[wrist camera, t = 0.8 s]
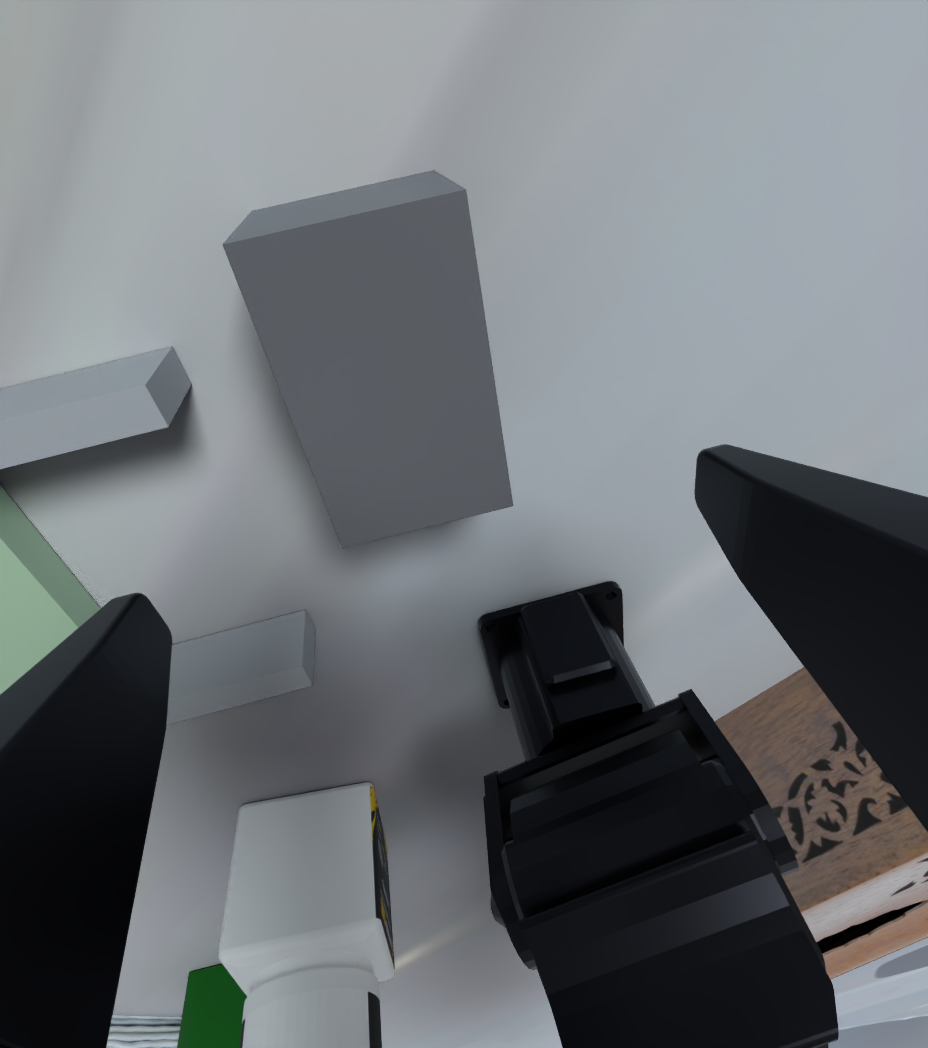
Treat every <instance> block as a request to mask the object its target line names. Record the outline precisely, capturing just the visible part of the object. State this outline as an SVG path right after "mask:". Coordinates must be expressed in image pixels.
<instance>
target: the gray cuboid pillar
mask: <svg viewBox="0 0 928 1048" xmlns="http://www.w3.org/2000/svg"><path fill="white" fill-rule="evenodd" d="M223 247H224V250H225V252H226V255H227V257H228V260H229V262H230V265H231V267H232V270H233V272H234V275H235V277H236V280H237V283H238V285H239V288H240V290H241V293H242V295H243V298H244V300H245V303H246V305H247V308H248V311H249V313H250V316H251V318H252V321H253V323H254V326H255V328H256V331H257V333H258V336H259V338H260V341H261V344H262V346H263V349H264V351H265V354H266V356H267V359H268V361H269V364H270V366H271V369H272V371H273V374H274V377H275V379H276V382H277V384H278V387H279V389H280V392H281V394H282V397H283V399H284V402H285V404H286V407H287V410H288V412H289V415H290V417H291V420H292V422H293V425H294V427H295V430H296V432H297V435H298V437H299V440H300V443H301V445H302V448H303V450H304V453H305V455H306V458H307V460H308V463H309V465H310V468H311V471H312V473H313V476H314V478H315V481H316V483H317V486H318V488H319V491H320V493H321V496H322V498H323V501H324V504H325V506H326V509H327V511H328V514H329V516H330V519H331V521H332V524H333V526H334V529H335V531H336V534H337V537H338V539H339V542H340V544H341V547H342V549H343V548H347V547H351V546H355V545H359V544H363V543H367V542H371V541H375V540H379V539H383V538H387V537H391V536H395V535H399V534H403V533H407V532H411V531H415V530H419V529H423V528H427V527H431V526H435V525H439V524H443V523H447V522H451V521H455V520H459V519H463V518H467V517H471V516H475V515H479V514H483V513H487V512H491V511H495V510H499V509H503V508H507V507H511V506H513V501H512V494H511V488H510V481H509V474H508V468H507V461H506V454H505V448H504V441H503V434H502V427H501V421H500V414H499V407H498V401H497V394H496V387H495V381H494V374H493V367H492V361H491V354H490V347H489V341H488V334H487V327H486V321H485V314H484V307H483V300H482V294H481V287H480V280H479V274H478V267H477V260H476V254H475V247H474V240H473V234H472V227H471V220H470V214H469V207H468V200H467V194H466V189H464V188H463V187H461V186H459V185H458V184H456V183H454V182H453V181H451V180H449V179H448V178H446V177H444V176H443V175H441V174H439V173H438V172H436V171H434V170H433V171H428V172H424V173H419V174H415V175H410V176H406V177H402V178H397V179H393V180H388V181H384V182H379V183H375V184H370V185H366V186H361V187H357V188H352V189H348V190H344V191H339V192H335V193H330V194H326V195H321V196H317V197H312V198H308V199H303V200H299V201H295V202H290V203H286V204H281V205H277V206H272V207H268V208H263V209H259V210H254V211H252V212H251V213H250V214H249V215H248V216H247V217H246V218H245V219H244V221H243V222H242V223H241V224H240V225H239V226H238V227H237V229H236V230H235V231H234V232H233V233H232V234H231V235H230V236H229V238H228V239H227V240H226V241H225V242H224V243H223Z"/></svg>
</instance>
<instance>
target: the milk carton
mask: <svg viewBox="0 0 928 1048" xmlns="http://www.w3.org/2000/svg"><path fill="white" fill-rule="evenodd" d="M246 998H247V996H246V994H245V993H244V992H243V990H242V989H241V988H240V987H239V985H238V984H237V983H236V981H235V980H234V979H233V977H232V976H231V975H230V973H229V972H228V971H227V969H226V968H225V967H224V965H223V964H220V965H216V966H212V967H208V968H204V969H200V970H196V971H192V972H189V977H188V983H187V989H186V995H185V1001H184V1008H183V1014H182V1020H181V1026H180V1032H179V1038H178V1045H177V1048H239V1047H240V1037H241V1028H242V1018H243V1009H244V1002H245V1000H246Z"/></svg>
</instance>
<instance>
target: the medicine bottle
mask: <svg viewBox="0 0 928 1048" xmlns="http://www.w3.org/2000/svg"><path fill="white" fill-rule="evenodd" d="M218 956H219V960H220V962H221V963H222V964H223V965H224V967H225V968H226V969H227V971H228V972H229V973H230V975H231V976H232V977H233V979H234V980H235V981H236V983H237V984H238V985H239V987H240V988H241V989H242V990H243V992H244V993H245V994H246V996H247V998H246V1000H245V1002H244V1009H243V1018H242V1028H241V1037H240V1047H239V1048H382V1041H381V1019H380V998H379V983H380V982H384V981H388V980H391V979H392V977H393V976H394V972H395V966H394V951H393V936H392V921H391V906H390V891H389V875H388V860H387V845H386V840H385V836H384V831H383V827H382V823H381V818H380V814H379V809H378V805H377V800H376V796H375V791H374V787H373V785H372V784H371V783H369V782H364V783H359V784H353V785H348V786H342V787H337V788H331V789H326V790H320V791H315V792H309V793H304V794H298V795H293V796H287V797H282V798H276V799H270V800H265V801H259V802H254V803H248V804H244V805H243V806H241V807H240V809H239V812H238V819H237V826H236V833H235V840H234V847H233V854H232V861H231V868H230V875H229V882H228V889H227V896H226V903H225V910H224V917H223V924H222V931H221V938H220V945H219V952H218Z"/></svg>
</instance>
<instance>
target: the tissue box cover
mask: <svg viewBox="0 0 928 1048" xmlns="http://www.w3.org/2000/svg"><path fill="white" fill-rule="evenodd" d="M715 723H716V725H717V726H718V727H719V729H720V730H721V732H722V733H723V734H724V736H725V737H726V739H727V740H728V742H729V743H730V744H731V746H732V747H733V749H734V750H735V751H736V753H737V754H738V756H739V757H740V759H741V760H742V761H743V763H744V764H745V766H746V767H747V769H748V770H749V772H750V773H751V775H752V776H753V778H754V779H755V781H756V783H757V784H758V786H759V787H760V789H761V791H762V792H763V794H764V796H765V798H766V799H767V801H768V803H769V804H770V806H771V808H772V810H773V812H774V814H775V815H776V817H777V819H778V821H779V823H780V825H781V827H782V829H783V831H784V833H785V834H786V837H787V839H788V841H789V843H790V845H791V847H792V849H793V852H794V854H795V857H796V859H797V862H798V866H799V870H798V871H795V872H793V873H790V874H787V875H785V876H782V877H783V879H784V881H785V883H786V885H787V887H788V889H789V891H790V893H791V895H792V896H793V898H794V900H795V902H796V904H797V906H798V908H799V910H800V912H801V914H802V916H803V917H804V919H805V921H806V923H807V925H808V927H809V929H810V931H811V933H812V935H813V937H814V939H815V940H816V942H817V944H818V946H819V948H820V950H821V953H822V955H823V958H824V960H825V966H826V972H827V974H828V976H829V978H830V979H833V978H835V977H837V976H840V975H842V974H844V973H846V972H849V971H851V970H853V969H856V968H858V967H860V966H863V965H865V964H867V963H870V962H872V961H874V960H876V959H879V958H881V957H883V956H886V955H888V954H890V953H893V952H895V951H897V950H900V949H902V948H904V947H907V946H909V945H911V944H913V943H916V942H918V941H920V940H923V939H925V938H927V937H928V832H927V831H926V829H925V828H924V827H923V825H922V824H921V823H920V821H919V820H918V819H917V817H916V816H915V815H914V813H913V812H912V810H911V809H910V808H909V806H908V805H907V804H906V802H905V801H904V800H903V798H902V797H901V796H900V794H899V793H898V792H897V790H896V789H895V788H894V786H893V785H892V784H891V782H890V781H889V780H888V778H887V777H886V776H885V774H884V773H883V772H882V770H881V769H880V768H879V766H878V765H877V763H876V762H875V761H874V759H873V758H872V757H871V755H870V754H869V753H868V751H867V750H866V749H865V747H864V746H863V745H862V743H861V742H860V741H859V739H858V738H857V737H856V735H855V734H854V733H853V731H852V730H851V729H850V727H849V726H848V725H847V723H846V722H845V721H844V719H843V718H842V716H841V715H840V714H839V712H838V711H837V710H836V708H835V707H834V706H833V704H832V703H831V702H830V700H829V699H828V698H827V696H826V695H825V694H824V692H823V691H822V690H821V688H820V687H819V686H818V684H817V683H816V682H815V680H814V679H813V678H812V676H811V675H810V673H809V672H808V671H807V669H806V668H805V667H804V668H802V669H800V670H799V671H797V672H795V673H794V674H792V675H791V676H789V677H787V678H786V679H784V680H782V681H781V682H779V683H777V684H776V685H774V686H772V687H771V688H769V689H767V690H766V691H764V692H763V693H761V694H759V695H758V696H756V697H754V698H753V699H751V700H749V701H748V702H746V703H744V704H743V705H741V706H739V707H738V708H736V709H734V710H733V711H731V712H730V713H728V714H726V715H725V716H723V717H721V718H720V719H718V720H716V721H715Z"/></svg>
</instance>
